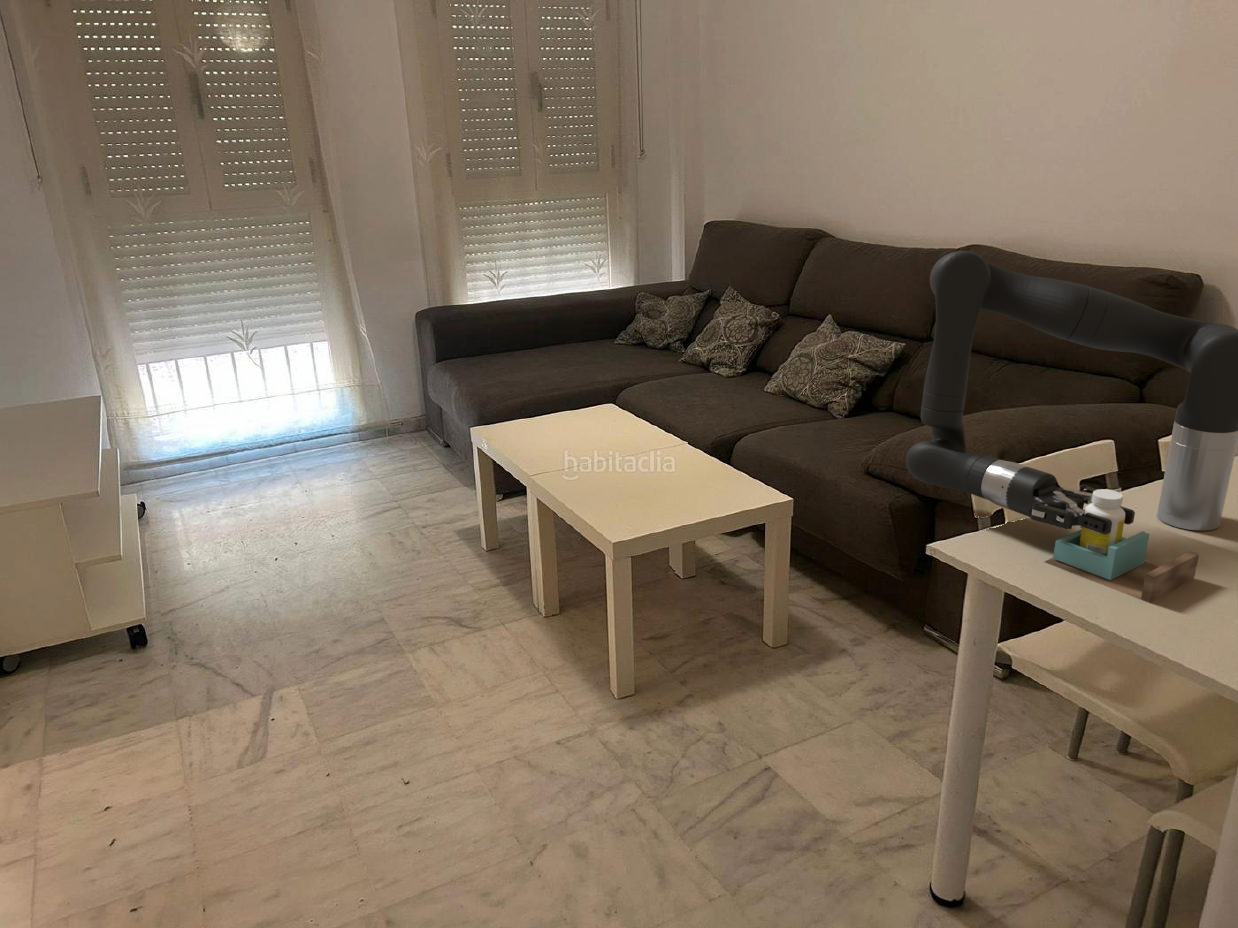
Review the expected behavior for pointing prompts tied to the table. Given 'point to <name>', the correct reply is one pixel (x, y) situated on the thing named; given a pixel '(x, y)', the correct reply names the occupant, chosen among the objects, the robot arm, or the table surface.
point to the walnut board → (1144, 577)
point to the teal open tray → (1108, 567)
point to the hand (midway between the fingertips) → (1121, 522)
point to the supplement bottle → (1109, 508)
